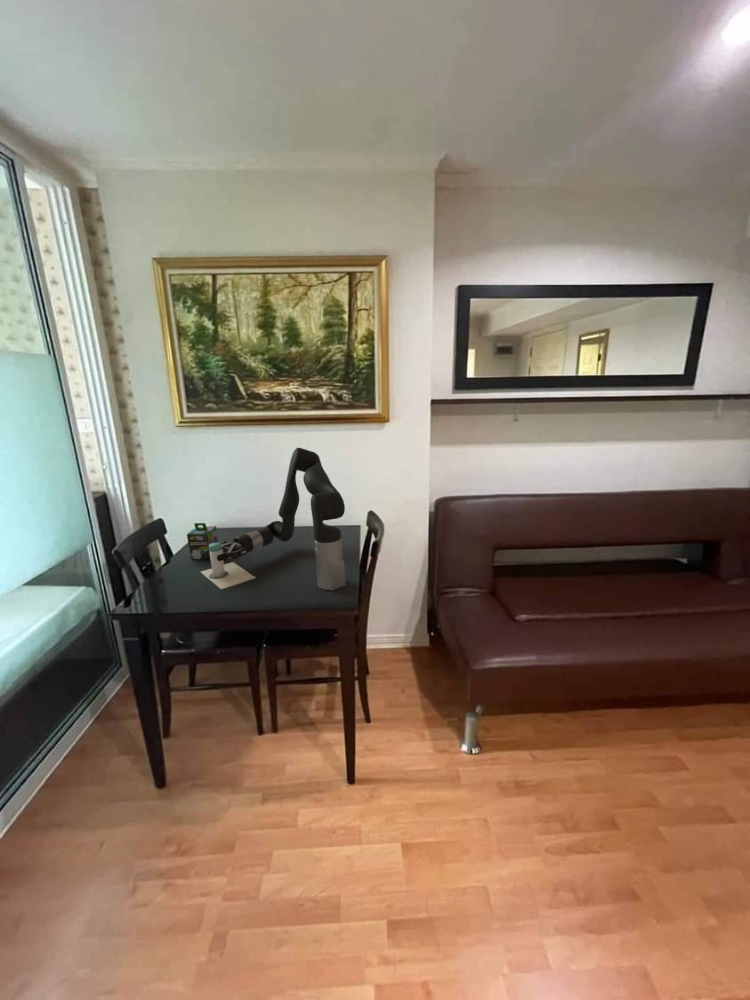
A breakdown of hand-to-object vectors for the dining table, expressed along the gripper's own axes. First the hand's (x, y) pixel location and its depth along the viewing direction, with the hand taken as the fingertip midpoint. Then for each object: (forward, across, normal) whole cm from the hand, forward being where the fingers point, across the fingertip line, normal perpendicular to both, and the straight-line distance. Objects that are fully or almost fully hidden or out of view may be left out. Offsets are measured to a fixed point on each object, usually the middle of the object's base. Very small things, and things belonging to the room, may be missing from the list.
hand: (211, 556), depth 161 cm
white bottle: (-2, 0, +8) cm, 8 cm away
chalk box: (-10, -23, +9) cm, 27 cm away
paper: (-4, +2, +9) cm, 10 cm away
